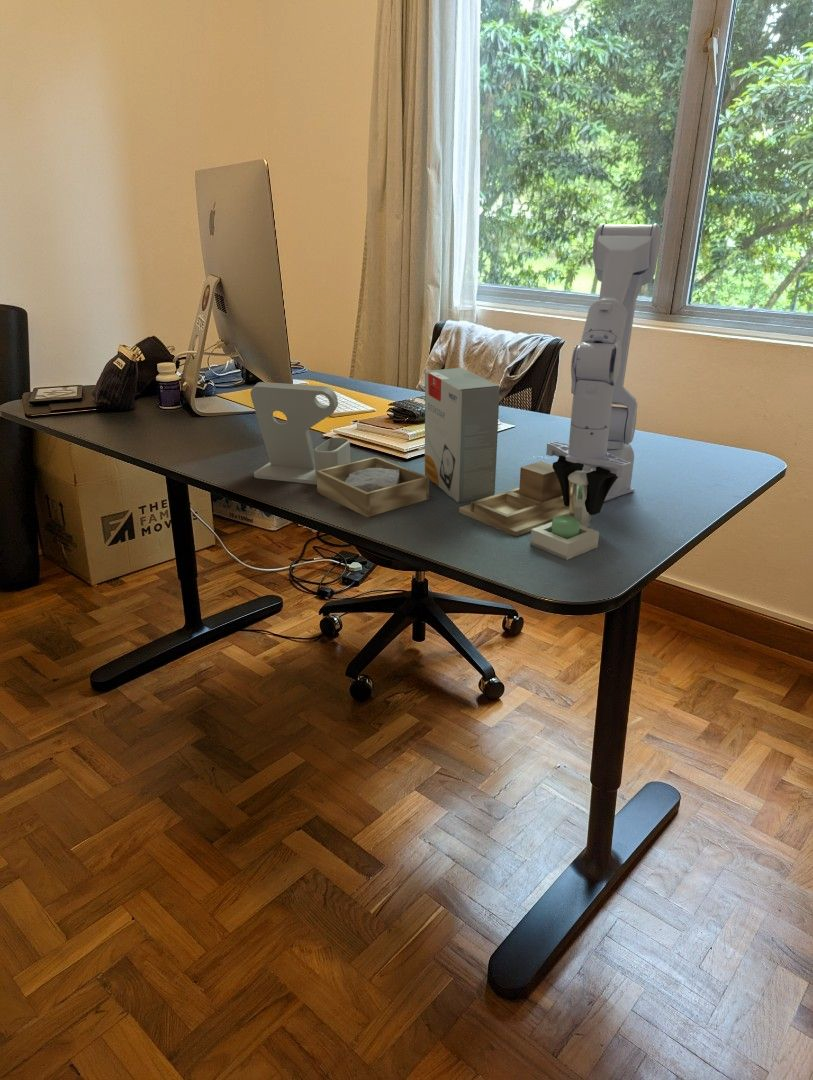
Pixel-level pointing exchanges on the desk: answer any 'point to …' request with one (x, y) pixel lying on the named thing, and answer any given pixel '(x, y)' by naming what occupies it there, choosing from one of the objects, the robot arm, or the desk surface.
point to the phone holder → (296, 431)
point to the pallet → (515, 511)
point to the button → (565, 526)
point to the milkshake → (579, 497)
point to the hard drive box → (461, 433)
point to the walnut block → (539, 482)
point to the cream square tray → (564, 541)
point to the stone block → (374, 479)
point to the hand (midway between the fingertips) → (581, 508)
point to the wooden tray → (376, 501)
